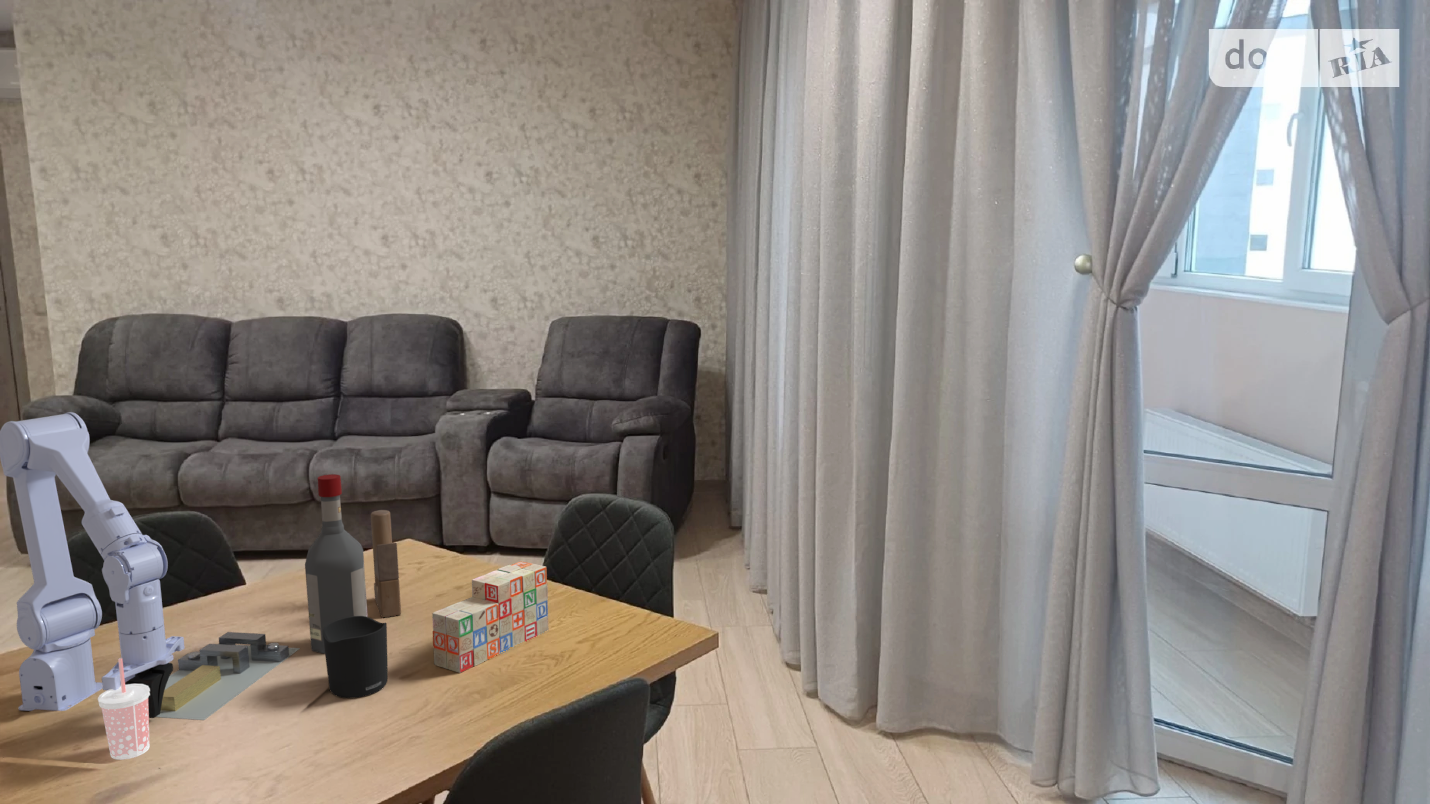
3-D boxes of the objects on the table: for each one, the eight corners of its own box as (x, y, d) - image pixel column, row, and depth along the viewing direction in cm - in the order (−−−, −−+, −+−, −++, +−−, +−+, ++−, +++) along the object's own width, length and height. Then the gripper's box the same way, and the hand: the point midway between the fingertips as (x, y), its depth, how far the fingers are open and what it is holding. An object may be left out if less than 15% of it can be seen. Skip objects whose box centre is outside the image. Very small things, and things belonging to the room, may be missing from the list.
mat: (204, 723, 147) (204, 719, 147) (111, 717, 150) (110, 713, 149) (300, 651, 173) (300, 648, 173) (219, 647, 175) (219, 643, 175)
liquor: (369, 632, 181) (358, 468, 176) (368, 651, 173) (356, 480, 168) (314, 638, 178) (301, 472, 173) (310, 659, 170) (297, 485, 165)
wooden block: (381, 618, 188) (375, 525, 185) (374, 600, 197) (368, 510, 194) (401, 615, 189) (396, 522, 186) (394, 597, 199) (388, 508, 196)
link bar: (175, 711, 150) (173, 697, 150) (156, 709, 151) (155, 696, 150) (220, 679, 161) (219, 666, 161) (203, 678, 161) (202, 665, 161)
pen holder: (324, 703, 154) (319, 641, 152) (330, 678, 163) (325, 618, 161) (389, 696, 156) (385, 634, 154) (391, 671, 165) (387, 612, 163)
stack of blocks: (460, 674, 164) (456, 602, 162) (433, 666, 167) (429, 594, 165) (549, 631, 182) (547, 565, 180) (523, 624, 185) (521, 559, 183)
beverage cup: (145, 739, 143) (135, 645, 141) (163, 753, 139) (153, 657, 137) (97, 756, 138) (86, 659, 136) (115, 771, 135) (104, 672, 132)
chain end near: (240, 673, 163) (238, 652, 162) (178, 670, 164) (176, 648, 164) (249, 667, 165) (247, 645, 165) (188, 663, 167) (186, 642, 166)
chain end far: (280, 662, 167) (279, 641, 167) (220, 658, 169) (218, 637, 168) (289, 656, 170) (287, 635, 169) (229, 652, 171) (227, 631, 170)
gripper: (131, 648, 137) (141, 741, 139) (199, 609, 151) (207, 694, 154) (84, 646, 138) (94, 738, 140) (156, 607, 152) (164, 692, 155)
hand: (150, 715), depth 147 cm, fingers closed
